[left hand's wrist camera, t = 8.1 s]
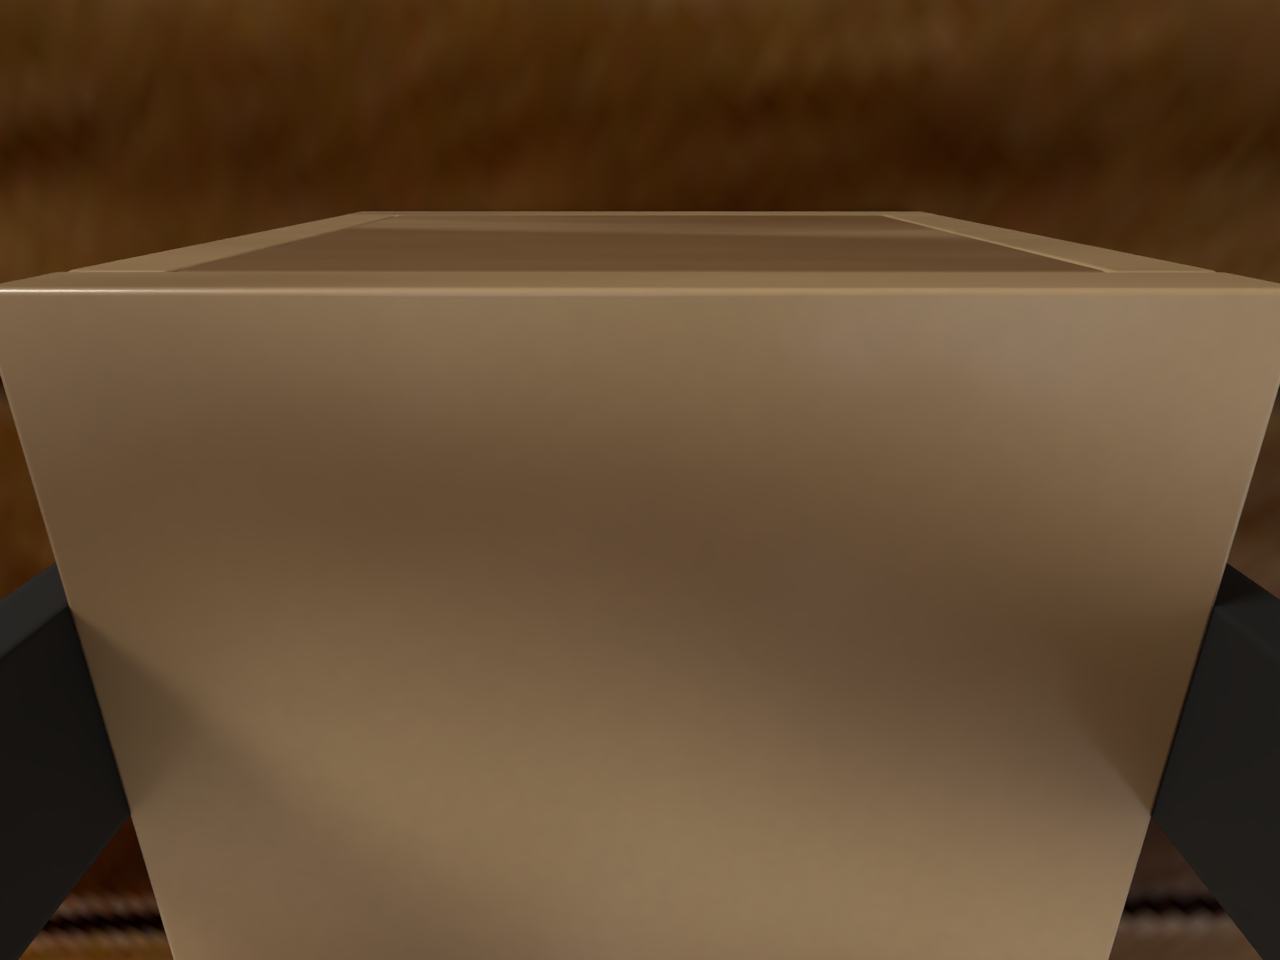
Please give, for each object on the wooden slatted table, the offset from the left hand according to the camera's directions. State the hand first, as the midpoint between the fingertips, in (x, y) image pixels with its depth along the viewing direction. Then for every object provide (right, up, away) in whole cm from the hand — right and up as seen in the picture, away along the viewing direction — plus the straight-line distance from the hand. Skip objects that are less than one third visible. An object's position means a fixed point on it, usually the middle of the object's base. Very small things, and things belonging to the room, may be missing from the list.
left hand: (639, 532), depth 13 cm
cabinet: (0, -4, +8) cm, 8 cm away
